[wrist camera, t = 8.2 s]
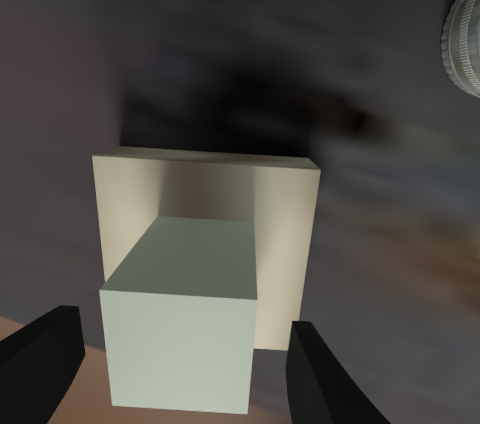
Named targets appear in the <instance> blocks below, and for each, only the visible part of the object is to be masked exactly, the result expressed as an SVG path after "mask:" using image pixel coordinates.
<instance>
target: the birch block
mask: <svg viewBox="0 0 480 424" xmlns="http://www.w3.org/2000/svg"><path fill="white" fill-rule="evenodd" d="M92 158H93V168H94V177H95V187H96V197H97V207H98V216H99V226H100V236H101V245H102V255H103V265H104V275H105V282H106V281H107V280H108V278H109V277H110V276H111V275H112V273H113V272H114V271H115V269H116V268H117V267H118V266H119V264H120V263H121V262H122V261H123V259H124V258H125V257H126V255H127V254H128V253H129V252H130V250H131V249H132V248H133V247H134V245H135V244H136V243H137V241H138V240H139V239H140V238H141V236H142V235H143V234H144V232H145V231H146V230H147V229H148V227H149V226H150V225H151V224H152V222H153V221H154V220H155V218H156V217H157V216H165V217H181V218H197V219H213V220H229V221H245V222H254V234H255V255H256V275H257V296H258V302H257V313H256V324H255V335H254V346H253V348H258V349H274V350H288V346H289V339H290V332H291V325H292V321H298V320H299V314H300V307H301V300H302V293H303V287H304V280H305V273H306V266H307V260H308V253H309V246H310V240H311V233H312V226H313V219H314V213H315V206H316V199H317V192H318V186H319V179H320V172H321V170H320V169H319V168H318V167H317V166H316V165H315V164H314V163H313V162H312V161H311V160H310V159H309V158H298V157H282V156H266V155H250V154H234V153H218V152H202V151H186V150H170V149H154V148H138V147H122V146H119V147H116V148H113V149H110V150H107V151H104V152H102V153H99V154H96V155H93V156H92Z"/></svg>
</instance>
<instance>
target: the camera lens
mask: <svg viewBox="0 0 480 424" xmlns="http://www.w3.org/2000/svg"><path fill="white" fill-rule="evenodd" d="M441 39H442V42H441V49H442V52H441V56H442V58H443V65H444V66H445V71H446V72H447V73H448V75H449V78H450V79H452V81H453V83H454V84H455V85H457V86H458V87H459V88H460V89H461V90H464V91H465V92H466V93H469V94H472V95H474V96H477V97H479V98H480V0H455V3H454V4H453V5H452V7H451V8H450V13H449V14H448V15H447V17H446V23H445V24H444V27H443V33H442V36H441Z"/></svg>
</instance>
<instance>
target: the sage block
mask: <svg viewBox="0 0 480 424" xmlns="http://www.w3.org/2000/svg"><path fill="white" fill-rule="evenodd" d="M99 291H100V300H101V309H102V318H103V327H104V336H105V345H106V354H107V362H108V371H109V380H110V389H111V398H112V405H113V406H128V407H143V408H144V407H145V408H159V409H175V410H190V411H206V412H220V413H237V414H247V412H248V401H249V390H250V379H251V368H252V357H253V346H254V335H255V324H256V313H257V302H258V296H257V275H256V255H255V234H254V222H245V221H229V220H213V219H197V218H181V217H165V216H157V217H156V218H155V220H154V221H153V222H152V224H151V225H150V226H149V227H148V229H147V230H146V231H145V232H144V234H143V235H142V236H141V238H140V239H139V240H138V241H137V243H136V244H135V245H134V247H133V248H132V249H131V250H130V252H129V253H128V254H127V255H126V257H125V258H124V259H123V261H122V262H121V263H120V264H119V266H118V267H117V268H116V269H115V271H114V272H113V273H112V275H111V276H110V277H109V278H108V280H107V281H106V282H105V284H104V285H103V286H102V287H101V289H100V290H99Z"/></svg>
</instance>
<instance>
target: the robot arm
mask: <svg viewBox="0 0 480 424" xmlns="http://www.w3.org/2000/svg"><path fill="white" fill-rule="evenodd" d="M84 356H85V348H84V341H83V334H82V327H81V320H80V313H79V307H78V306H63V305H61V306H59V307H57V308H55V309H53V310H51V311H50V312H48V313H46V314H44V315H43V316H41V317H39V318H38V319H36V320H34V321H33V322H31V323H30V324H28V325H26V326H25V327H23V328H21V329H20V330H18V331H17V332H15V333H13V334H11V335H10V336H8V337H6V338H5V339H3V340H1V341H0V424H47V423H48V421H49V420H50V418H51V416H52V415H53V413H54V412H55V410H56V408H57V407H58V405H59V404H60V402H61V400H62V399H63V397H64V395H65V394H66V392H67V391H68V389H69V387H70V386H71V384H72V381H73V380H74V378H75V376H76V373H77V372H78V369H79V367H80V365H81V363H82V361H83V359H84ZM286 381H287V393H288V402H289V408H290V413H291V418H292V424H391V423H390V422H389V421H388V420H387V419H386V418H385V417H384V416H383V415H382V414H381V413H380V412H379V411H378V409H377V408H376V407H375V406H374V405H373V404H372V403H371V402H370V400H369V399H368V398H367V397H366V396H365V394H364V393H363V392H362V391H361V390H360V388H359V387H358V386H357V385H356V384H355V382H354V381H353V380H352V379H351V377H350V376H349V375H348V373H347V372H346V371H345V369H344V368H343V367H342V366H341V364H340V363H339V362H338V360H337V359H336V358H335V356H334V355H333V353H332V352H331V351H330V349H329V348H328V346H327V345H326V343H325V342H324V341H323V339H322V338H321V336H320V335H319V333H318V332H317V330H316V329H315V327H314V326H313V324H312V323H311V322H306V321H292V325H291V332H290V339H289V346H288V354H287V361H286Z"/></svg>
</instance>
